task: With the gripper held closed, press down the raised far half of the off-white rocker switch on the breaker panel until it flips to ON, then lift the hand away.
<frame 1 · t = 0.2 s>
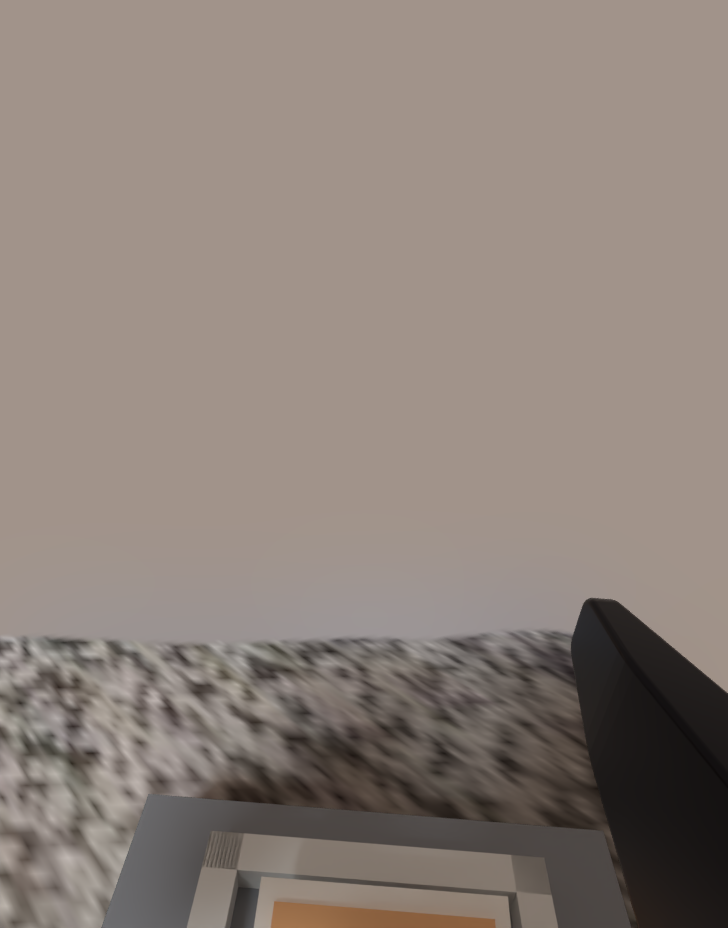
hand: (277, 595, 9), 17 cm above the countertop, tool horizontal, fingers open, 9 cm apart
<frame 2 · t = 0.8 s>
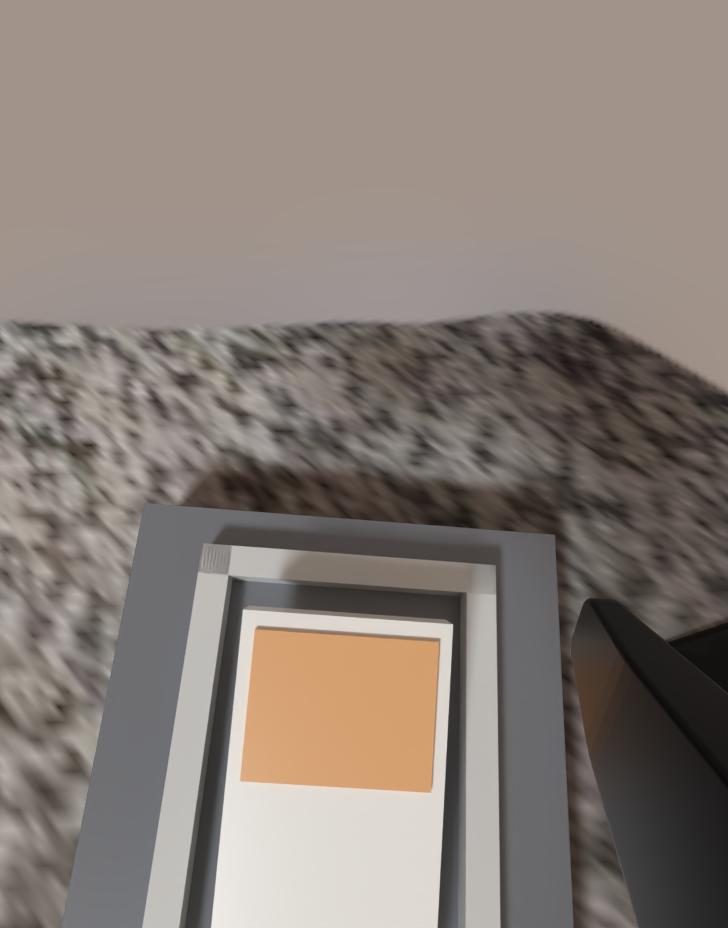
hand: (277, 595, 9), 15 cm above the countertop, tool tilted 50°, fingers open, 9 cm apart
rocker switch: (334, 796, 17), point 5 cm above the countertop, hinge at -12.0°
breaker panel: (332, 767, 22), on the countertop
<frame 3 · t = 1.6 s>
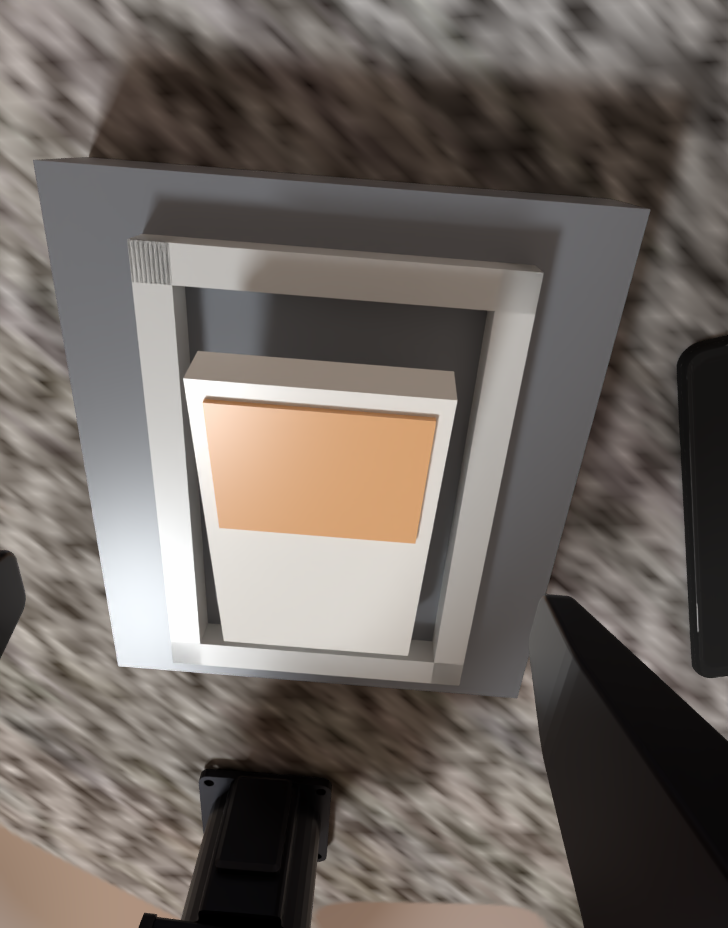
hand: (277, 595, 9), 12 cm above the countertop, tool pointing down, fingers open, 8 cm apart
rocker switch: (319, 530, 17), point 5 cm above the countertop, hinge at -12.0°
breaker panel: (334, 444, 21), on the countertop
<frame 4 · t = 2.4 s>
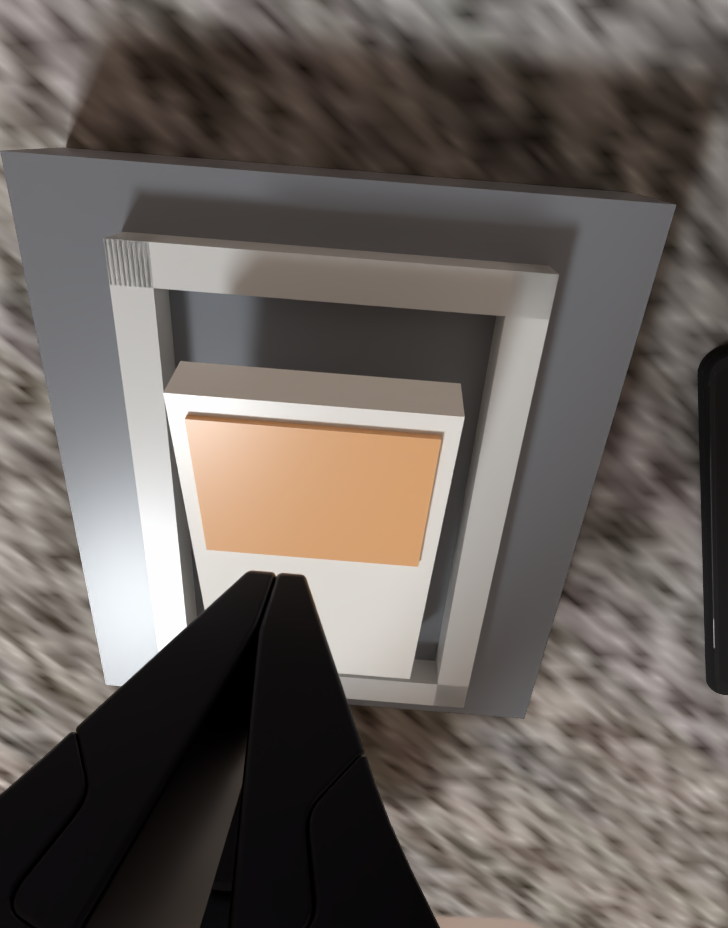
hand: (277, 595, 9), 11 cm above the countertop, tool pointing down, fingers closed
rocker switch: (315, 550, 16), point 5 cm above the countertop, hinge at -12.0°
breaker panel: (332, 453, 20), on the countertop
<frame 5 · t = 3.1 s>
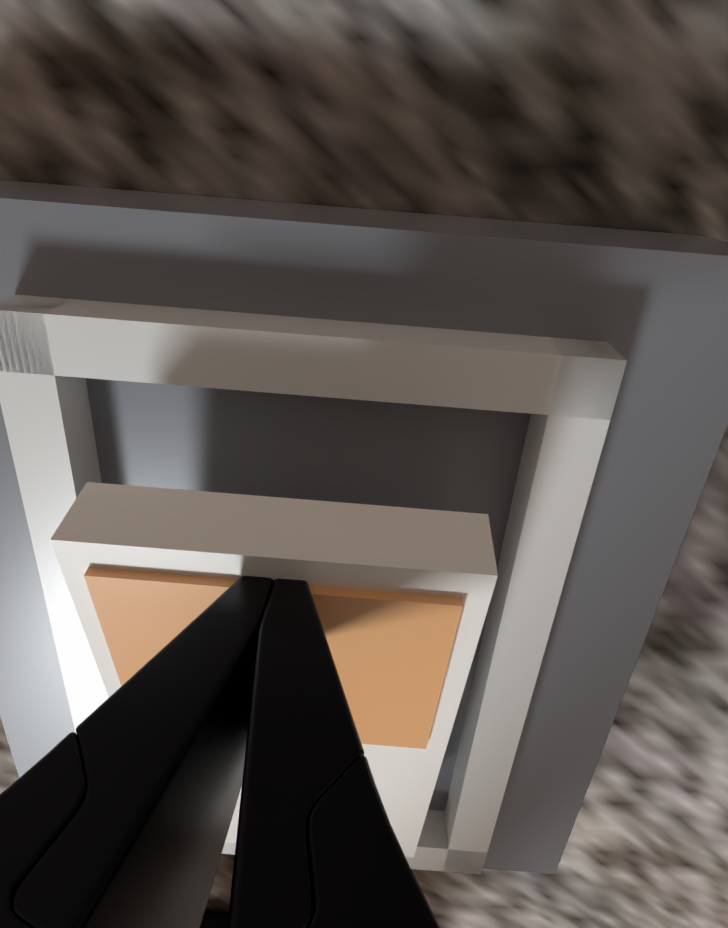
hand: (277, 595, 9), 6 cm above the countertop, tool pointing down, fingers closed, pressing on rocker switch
rocker switch: (286, 715, 12), point 5 cm above the countertop, hinge at -10.5°, touching gripper
breaker panel: (316, 551, 16), on the countertop
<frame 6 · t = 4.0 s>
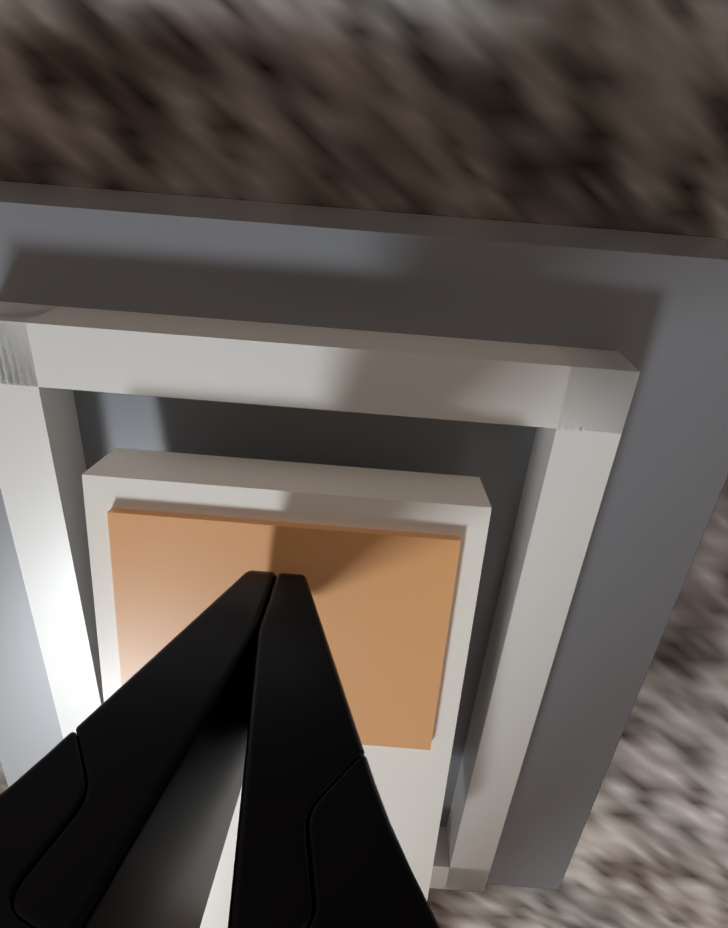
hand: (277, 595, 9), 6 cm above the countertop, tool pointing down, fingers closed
rocker switch: (282, 730, 11), point 5 cm above the countertop, hinge at 7.7°
breaker panel: (314, 561, 16), on the countertop
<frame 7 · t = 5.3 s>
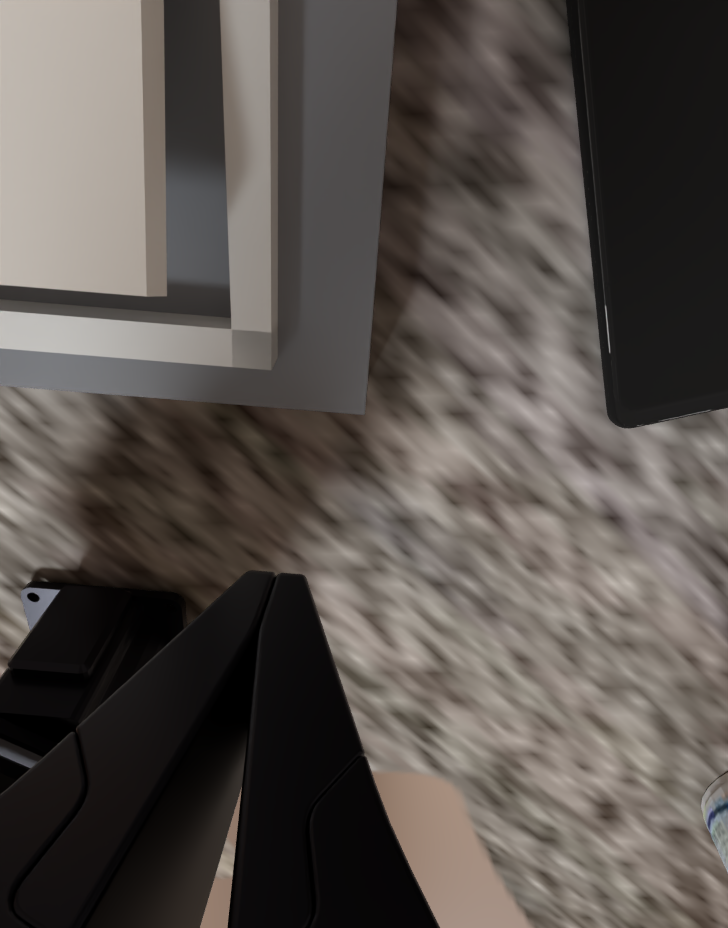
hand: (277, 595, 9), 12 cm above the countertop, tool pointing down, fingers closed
smartphone: (704, 162, 17), on the countertop
breaker panel: (106, 48, 16), on the countertop
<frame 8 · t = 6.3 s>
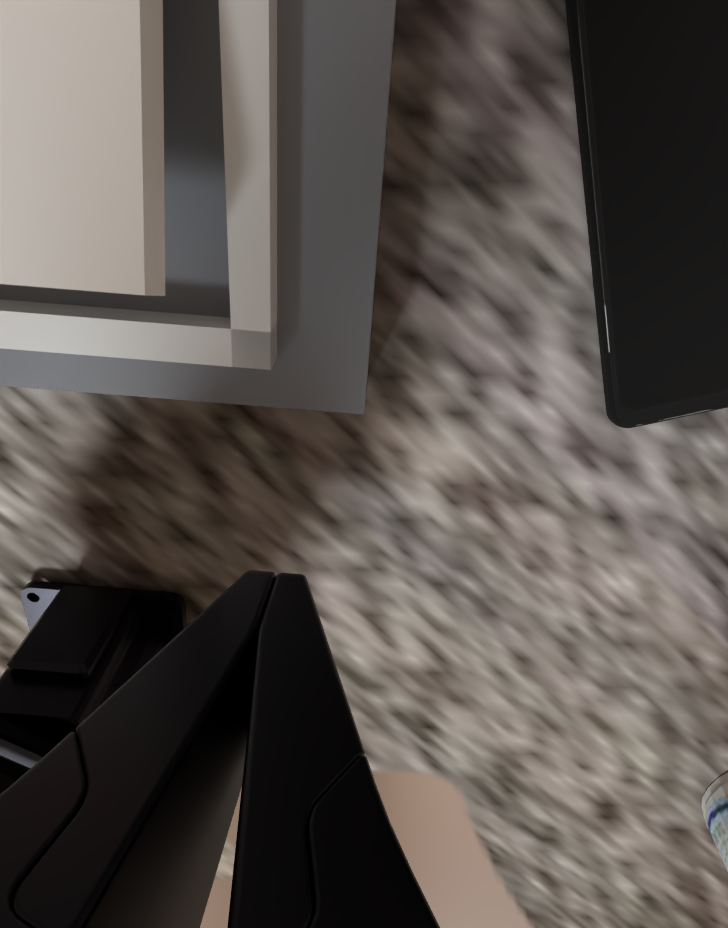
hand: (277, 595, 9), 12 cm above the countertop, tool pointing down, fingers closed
smartphone: (704, 161, 17), on the countertop
breaker panel: (105, 48, 16), on the countertop
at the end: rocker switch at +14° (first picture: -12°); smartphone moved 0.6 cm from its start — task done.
